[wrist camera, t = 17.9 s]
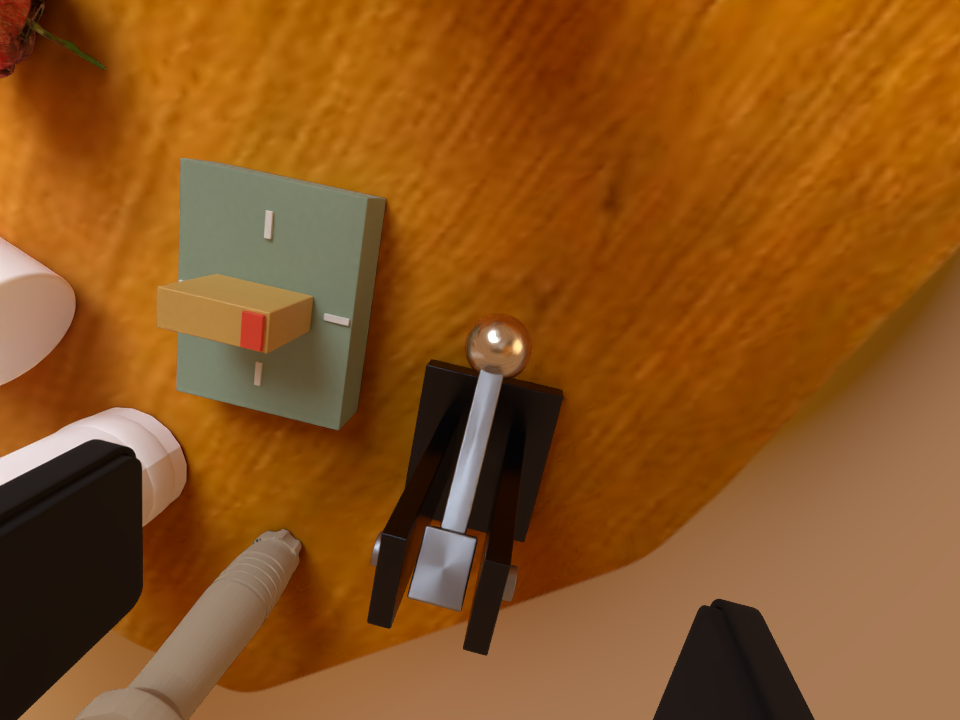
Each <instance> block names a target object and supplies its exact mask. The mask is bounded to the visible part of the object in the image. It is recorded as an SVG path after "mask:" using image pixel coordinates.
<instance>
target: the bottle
mask: <svg viewBox="0 0 960 720" xmlns="http://www.w3.org/2000/svg"><path fill="white" fill-rule="evenodd" d="M92 439H100V440H104V441H107V442H111V443H115V444H119V445H123V446H127V447H130V448H131V449H133V450H134V452H135V454H136V458H137V459H139V460H140V462H141V464H142V527H144V526H145V525H146V524H147V523H149V522H150V521H151V520H152V519H154V518H155V517H156V516H157V515H158V514H160V513H161V512H162V511H163V510H164V509H165V508H167V506H168V505H169V504H170V503H171V502H173V501H174V500H175V499H176V498H178V497H179V496H180V494H181V492H182V490H183V488H184V485H185V483H186V471H187V464H186V461H185V458H184V455H183V452H182V449H181V446H180V445H179V443H178V442H177V441H176V439H175V438H174V436H173V435H172V434H171V432H170V431H169V429H167V428H166V427H165V426H164V425H162V424H161V423H160V422H159V421H157V420H156V419H155V418H154V417H152V416H150V415H148V414H146V413H143V412H141V411H138V410H136V409H133V408H119V407H114V408H111V409H108V410H105V411H102V412H99V413H97V414H95V415H93V416H90V417H87V418H84V419H81V420H78V421H76V422H73V423H71V424H69V425H67V426H65V427H63V428H61V429H59V430H58V431H57V432H56V433H54V434H51V435H49V436H47V437H45V438H43V439H41V440H38V441H36V442H34V443H32V444H30V445H27V446H25V447H23V448H21V449H19V450H17V451H14V452H12V453H10V454H8V455H6V456H4V457H1V458H0V486H1V485H2V484H4V483H6V482H8V481H10V480H12V479H14V478H16V477H18V476H20V475H22V474H24V473H26V472H28V471H30V470H32V469H34V468H36V467H38V466H40V465H42V464H44V463H46V462H47V461H49V460H51V459H53V458H55V457H57V456H59V455H61V454H63V453H65V452H67V451H69V450H71V449H73V448H75V447H77V446H79V445H81V444H83V443H85V442H87V441H90V440H92Z"/></svg>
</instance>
